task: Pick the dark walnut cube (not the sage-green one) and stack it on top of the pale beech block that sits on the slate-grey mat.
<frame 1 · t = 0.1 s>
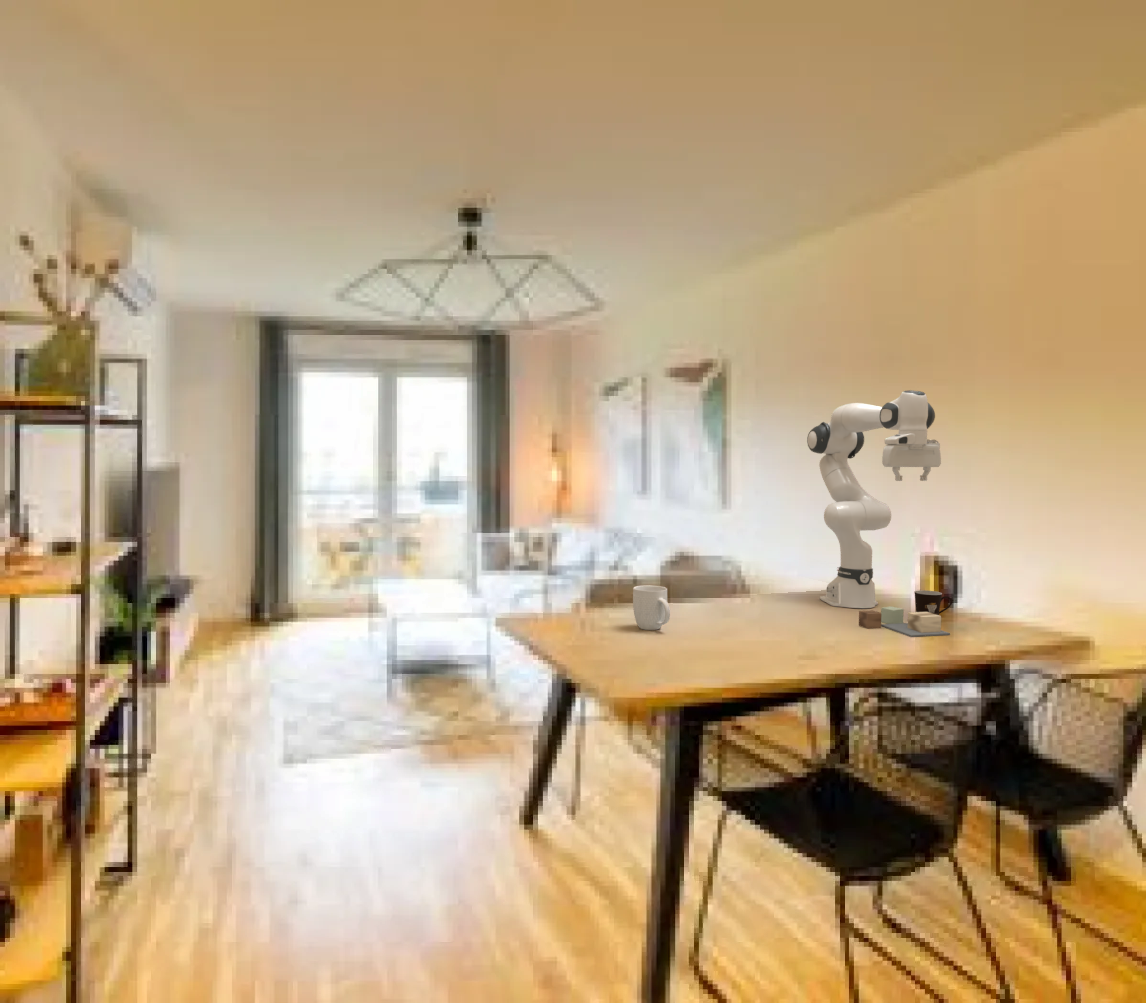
hand: (911, 480, 275), 48 cm above the table, fingers open, 8 cm apart
mat: (914, 630, 266), on the table
mug: (651, 629, 265), on the table
base block: (923, 629, 264), point 1 cm above the table, touching mat
coffee mug: (931, 622, 279), on the table
walnut block: (869, 627, 271), on the table
sage block: (891, 623, 278), on the table
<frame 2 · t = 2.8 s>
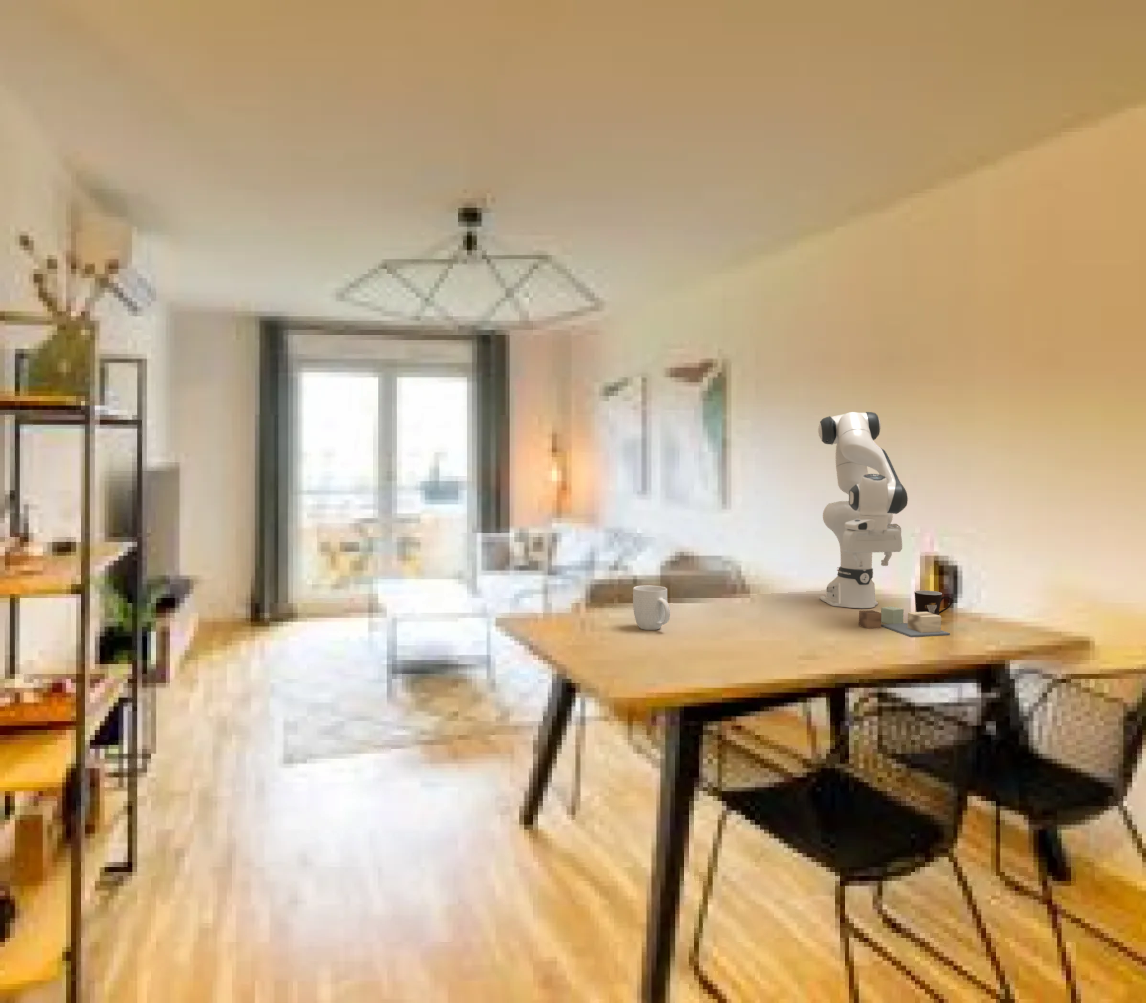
hand: (871, 566, 270), 20 cm above the table, fingers open, 8 cm apart
nothing on the table moved.
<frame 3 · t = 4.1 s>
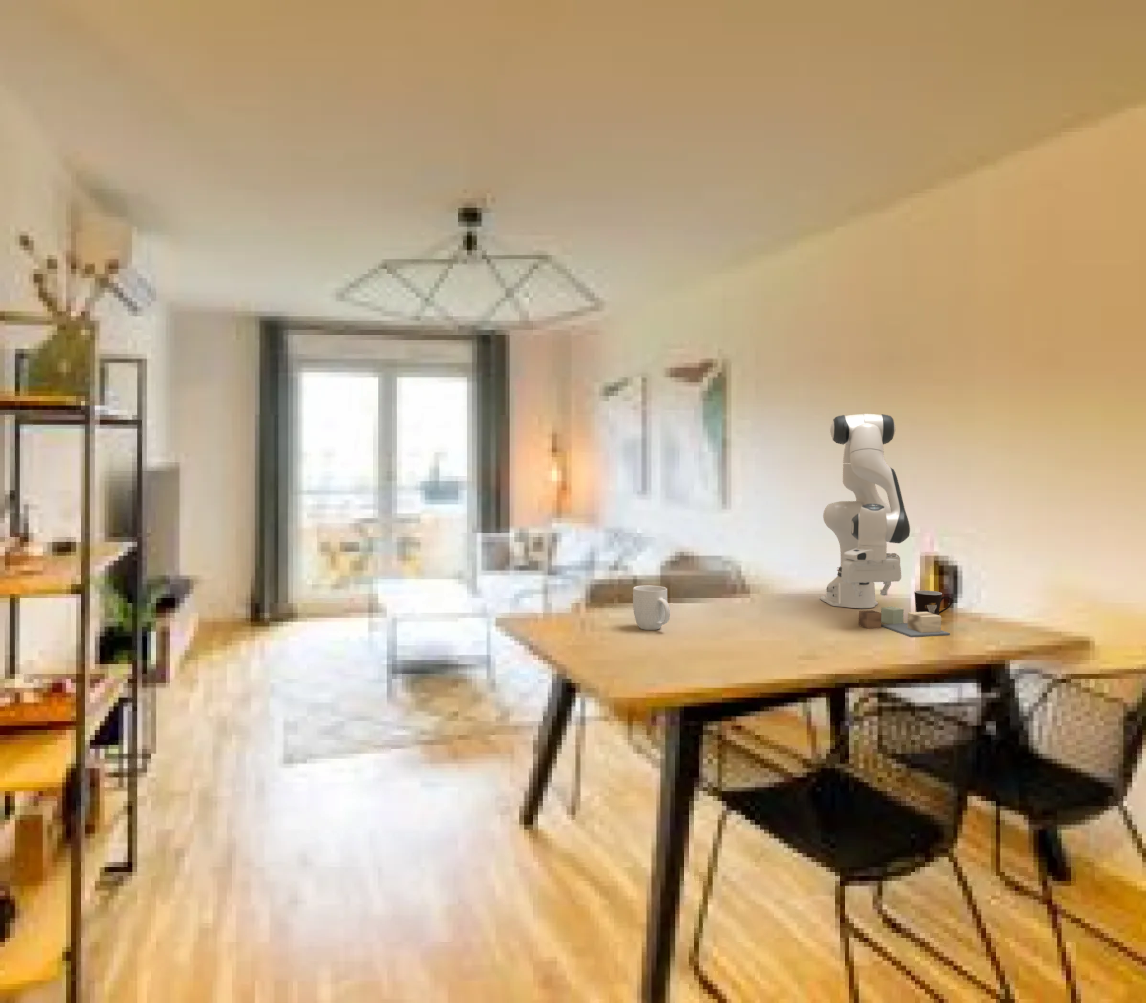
hand: (871, 595, 270), 10 cm above the table, fingers open, 8 cm apart
nothing on the table moved.
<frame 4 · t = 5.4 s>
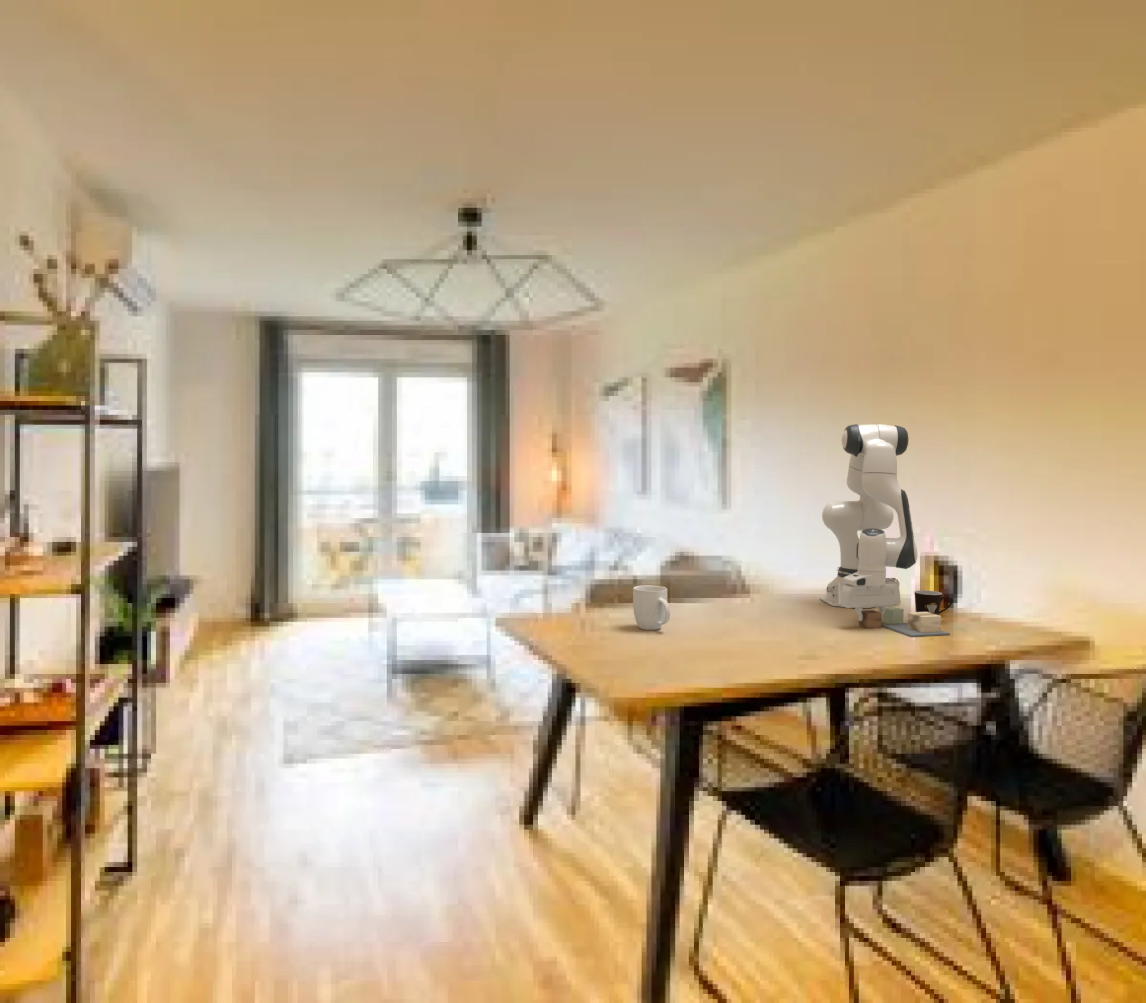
hand: (870, 620, 271), 2 cm above the table, fingers closed on walnut block, 5 cm apart
walnut block: (869, 626, 271), on the table, touching gripper
everything else where it was.
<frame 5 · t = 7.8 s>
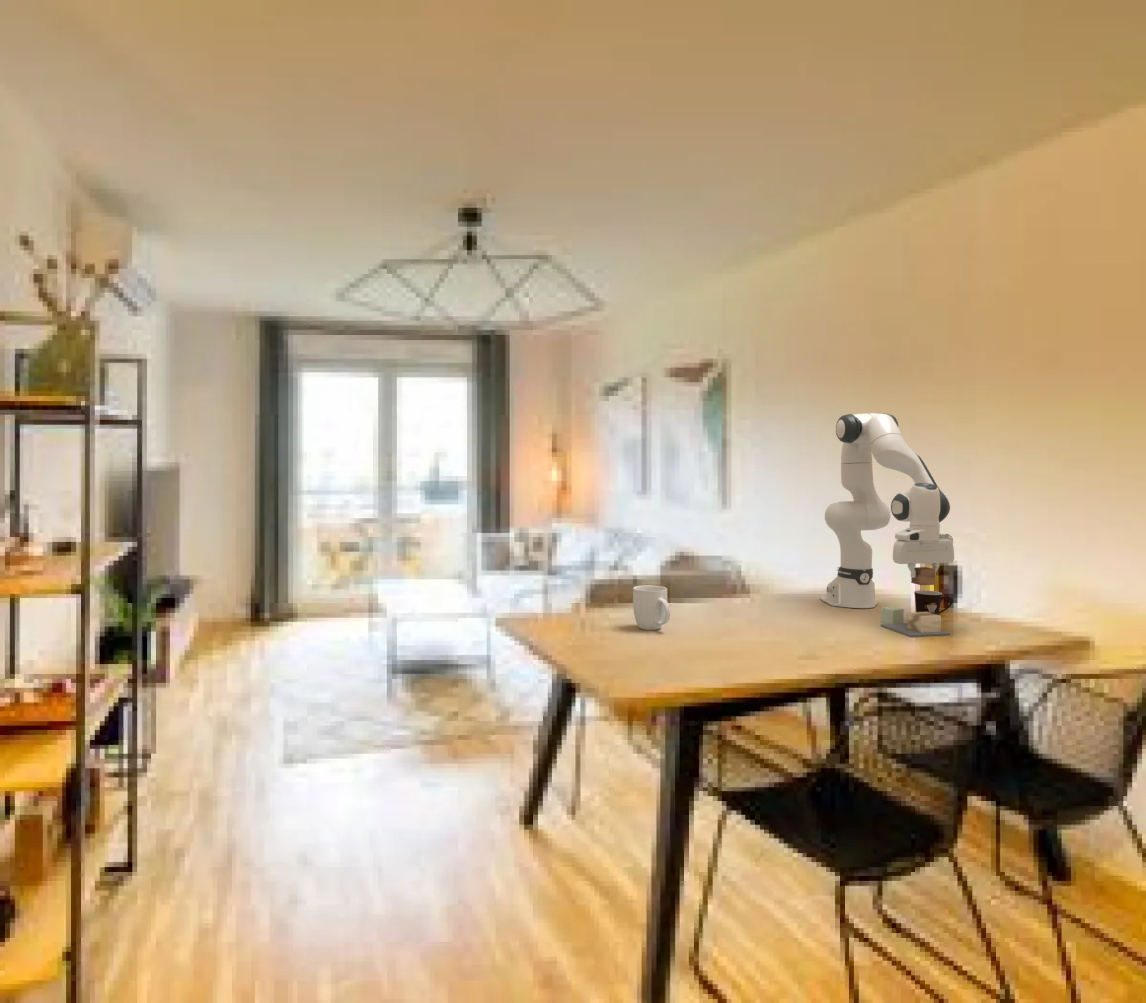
hand: (923, 577, 263), 18 cm above the table, fingers closed on walnut block, 5 cm apart
walnut block: (923, 583, 263), point 15 cm above the table, touching gripper
everything else where it was.
when the fingers open (8 cm above the table, at t = 10.0 s): walnut block stays where it is, resting on base block.
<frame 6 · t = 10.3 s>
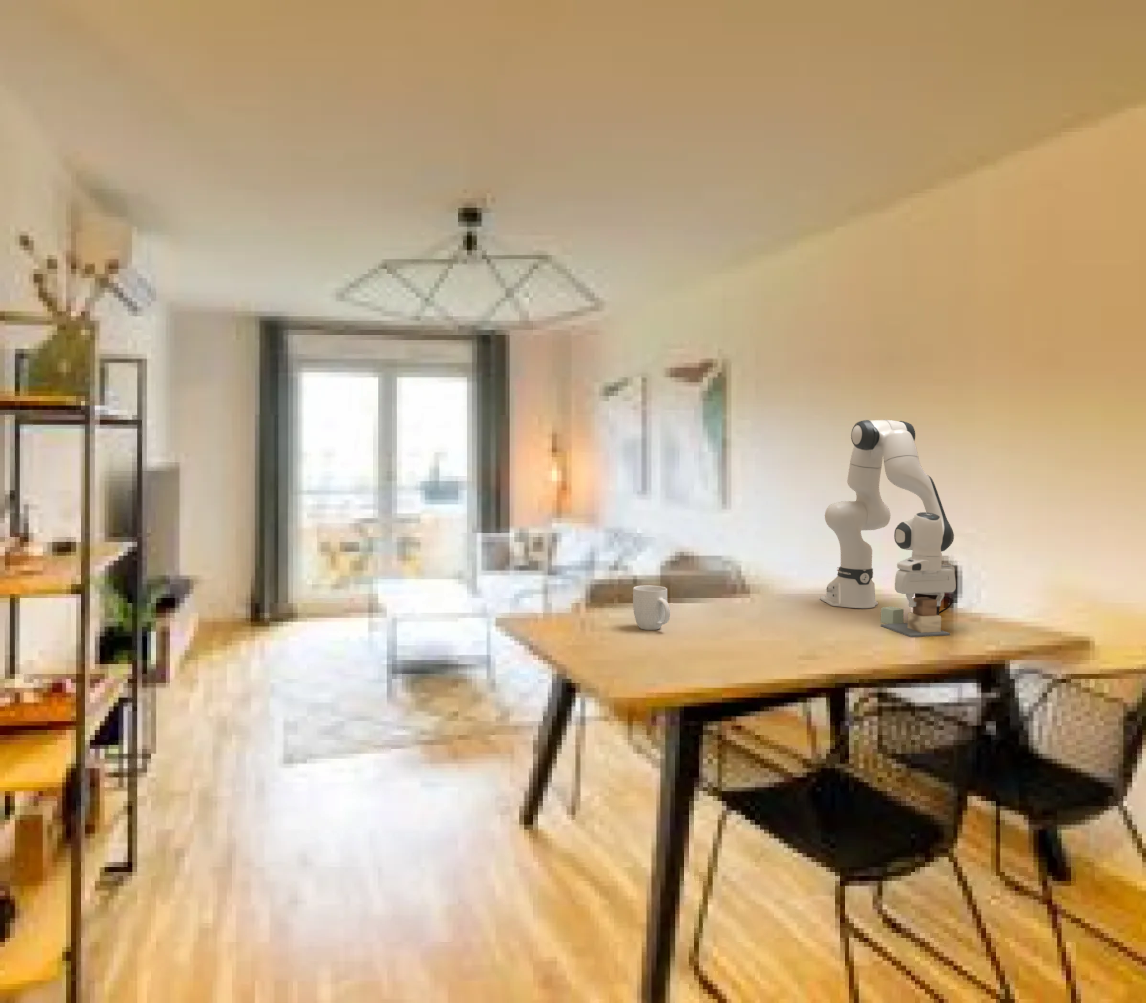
hand: (924, 606, 264), 8 cm above the table, fingers open, 8 cm apart
base block: (923, 629, 264), point 1 cm above the table, touching mat, walnut block
walnut block: (924, 614, 264), point 6 cm above the table, touching base block
everything else where it was.
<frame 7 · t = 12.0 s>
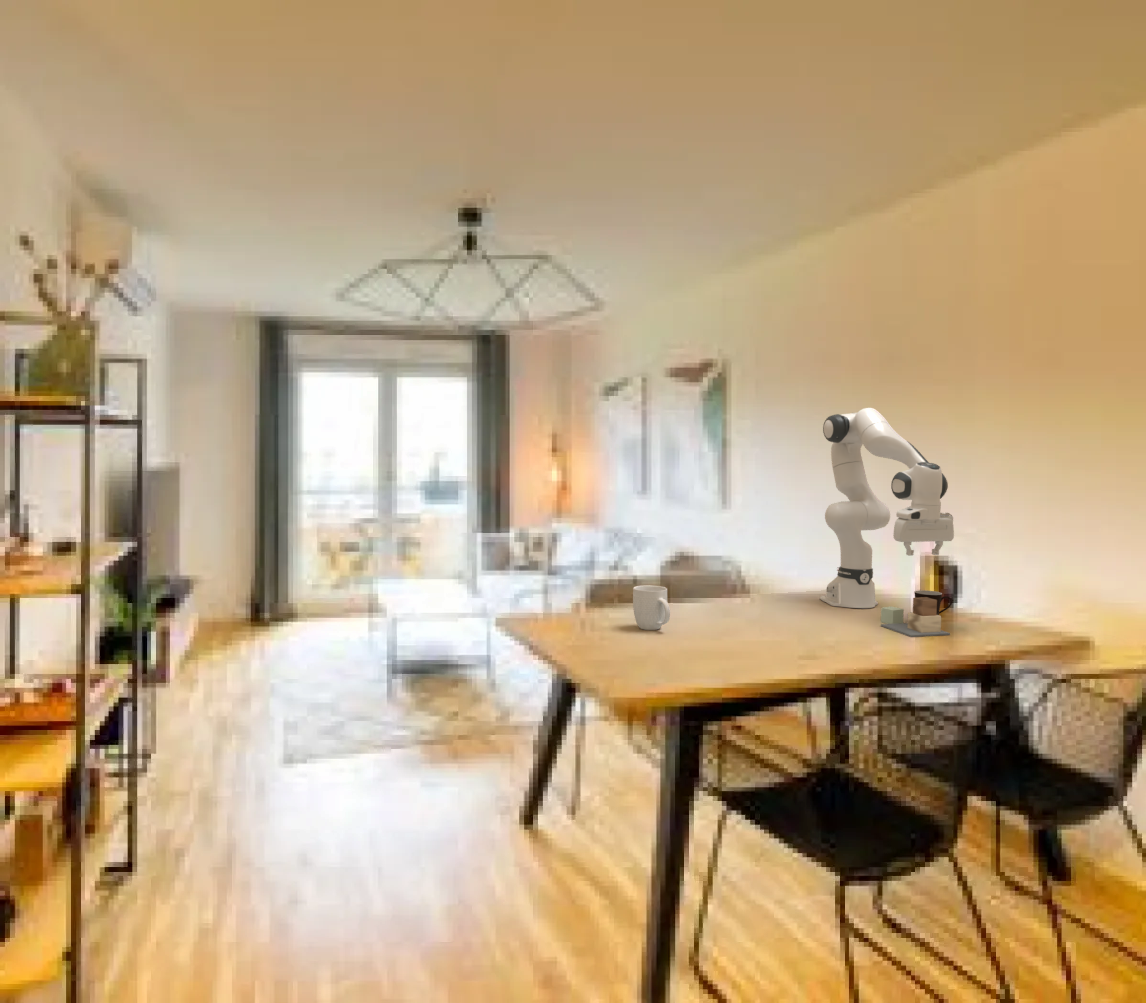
hand: (922, 555, 268), 24 cm above the table, fingers open, 8 cm apart
nothing on the table moved.
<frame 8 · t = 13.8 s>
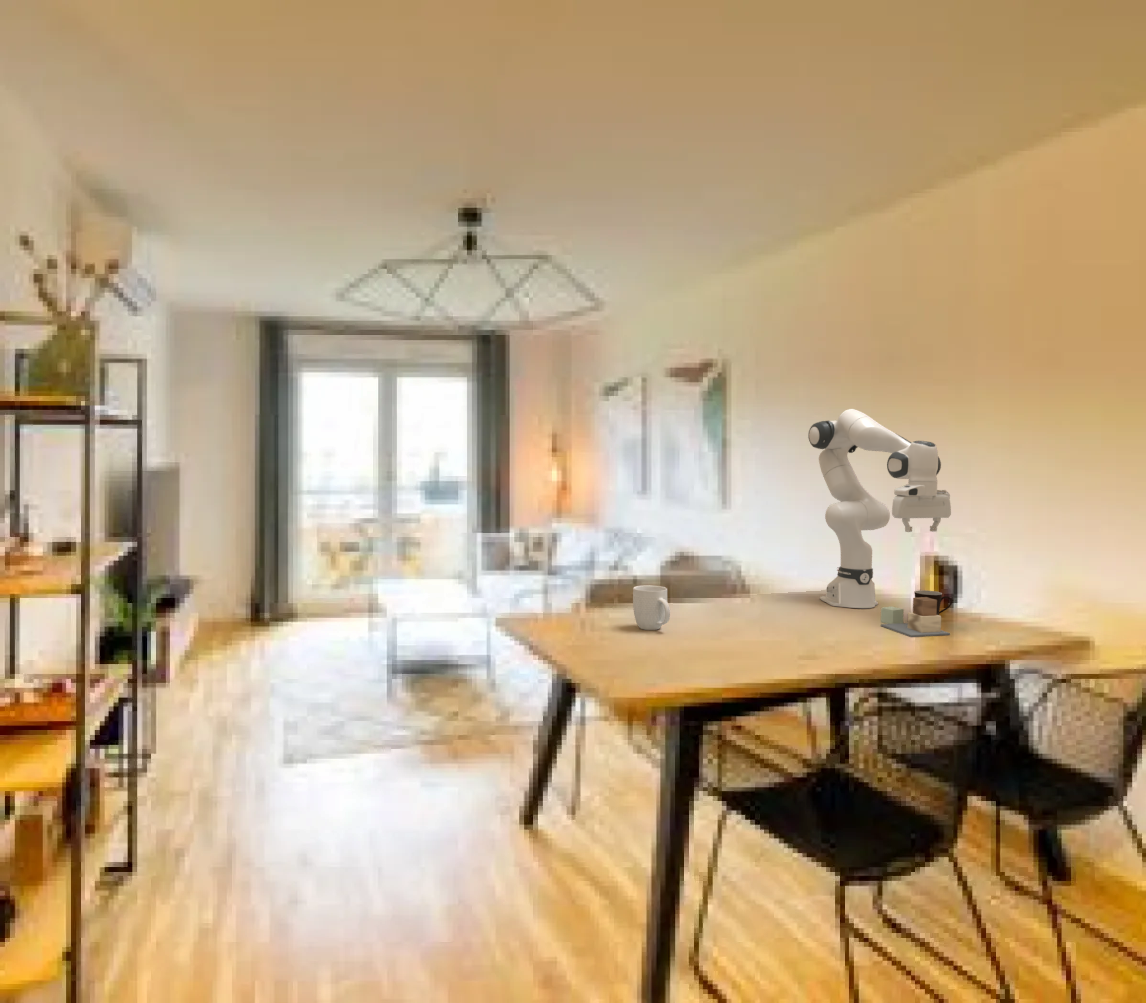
hand: (921, 531, 273), 31 cm above the table, fingers open, 8 cm apart
nothing on the table moved.
at the end: walnut block 0.0 cm off-centre on the base block, point 5.0 cm above the base block's base; walnut block tilted 0°; the gripper is holding nothing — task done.
